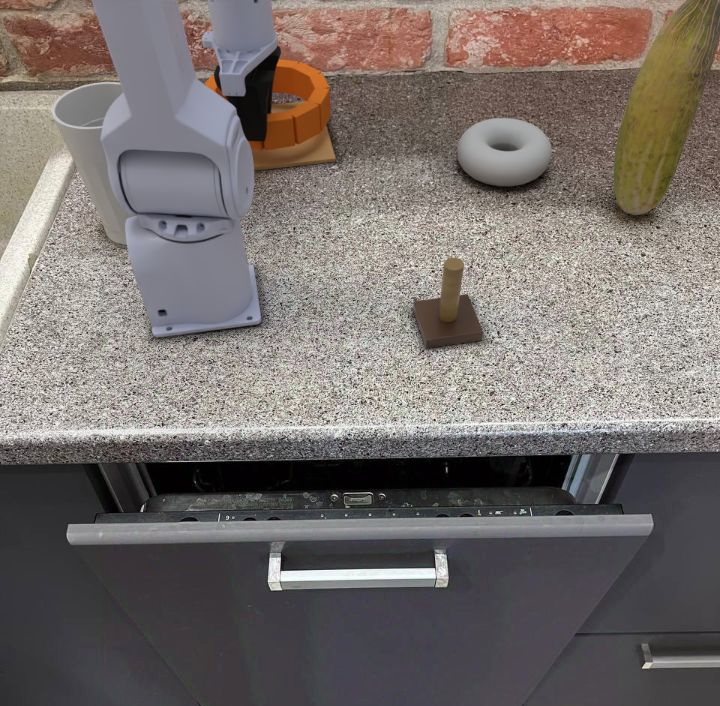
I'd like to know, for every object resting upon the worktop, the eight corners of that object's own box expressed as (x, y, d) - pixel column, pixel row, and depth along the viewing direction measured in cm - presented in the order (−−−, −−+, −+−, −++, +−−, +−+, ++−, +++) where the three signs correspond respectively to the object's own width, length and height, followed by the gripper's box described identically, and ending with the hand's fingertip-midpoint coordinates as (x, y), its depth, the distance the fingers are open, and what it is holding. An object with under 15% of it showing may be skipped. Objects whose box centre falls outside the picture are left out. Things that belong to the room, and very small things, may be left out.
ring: (342, 138, 74) (341, 110, 71) (216, 158, 72) (211, 130, 70) (314, 79, 81) (312, 52, 79) (199, 95, 80) (194, 68, 77)
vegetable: (613, 233, 68) (690, 0, 51) (584, 197, 71) (647, -31, 55) (668, 221, 69) (761, -10, 52) (636, 187, 72) (714, -41, 56)
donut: (450, 189, 73) (546, 197, 71) (452, 157, 70) (553, 165, 68) (461, 139, 78) (550, 145, 77) (464, 108, 75) (557, 114, 74)
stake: (425, 348, 59) (431, 287, 54) (412, 309, 62) (416, 248, 56) (482, 340, 59) (493, 279, 54) (466, 302, 62) (475, 240, 57)
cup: (80, 236, 68) (31, 115, 59) (130, 194, 72) (93, 74, 63) (144, 259, 66) (104, 137, 56) (192, 215, 70) (163, 93, 60)
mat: (217, 174, 74) (216, 171, 74) (210, 114, 82) (210, 110, 81) (335, 161, 76) (335, 158, 75) (318, 102, 83) (318, 99, 82)
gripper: (209, -50, 65) (233, 96, 76) (173, 16, 57) (205, 170, 68) (283, -49, 65) (295, 98, 76) (257, 18, 57) (275, 172, 68)
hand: (257, 133), depth 72 cm, fingers closed on ring, 2 cm apart
